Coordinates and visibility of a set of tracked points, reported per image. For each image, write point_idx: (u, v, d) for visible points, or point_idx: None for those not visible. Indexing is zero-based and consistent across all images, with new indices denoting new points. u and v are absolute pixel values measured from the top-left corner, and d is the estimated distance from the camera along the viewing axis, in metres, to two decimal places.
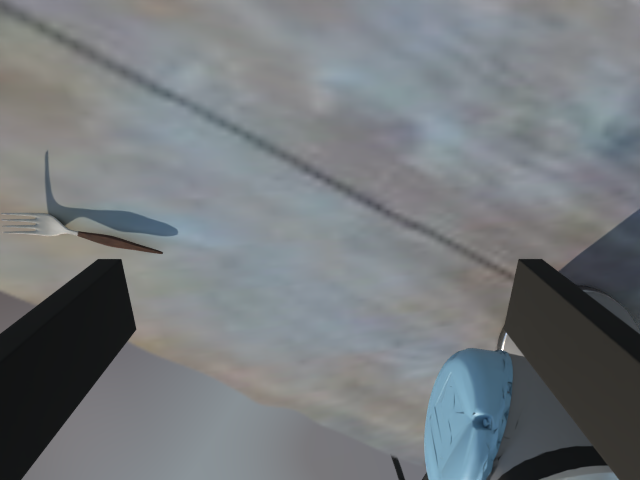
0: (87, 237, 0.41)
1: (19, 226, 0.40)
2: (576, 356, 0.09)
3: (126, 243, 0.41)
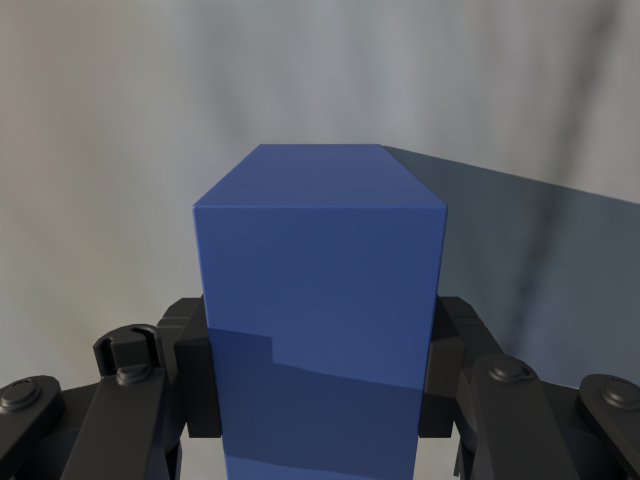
0: None
1: None
2: None
3: None
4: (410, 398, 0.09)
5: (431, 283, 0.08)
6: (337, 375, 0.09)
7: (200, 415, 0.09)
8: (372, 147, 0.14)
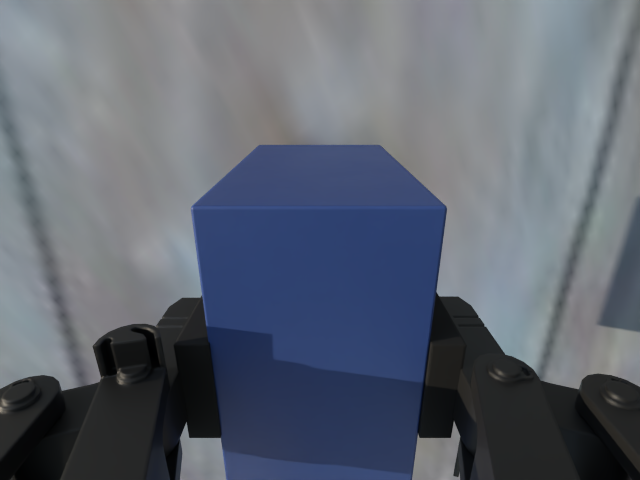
0: None
1: None
2: None
3: None
4: (409, 399, 0.09)
5: (430, 284, 0.08)
6: (336, 376, 0.09)
7: (200, 415, 0.09)
8: (371, 148, 0.14)
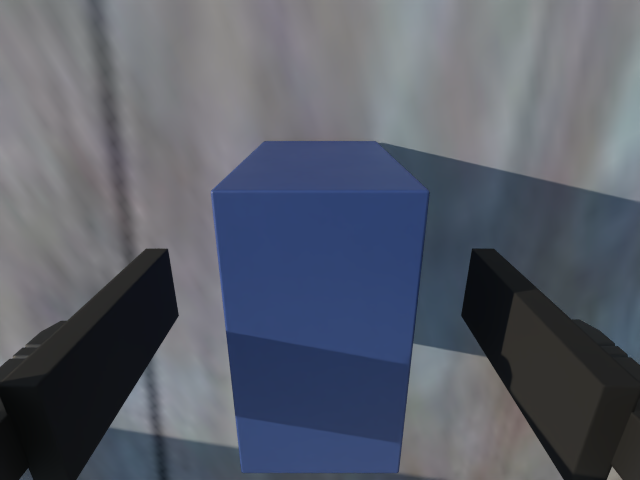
0: None
1: None
2: (512, 335, 0.10)
3: None
4: (399, 362, 0.10)
5: (416, 259, 0.09)
6: (335, 341, 0.10)
7: (43, 462, 0.08)
8: (368, 143, 0.15)
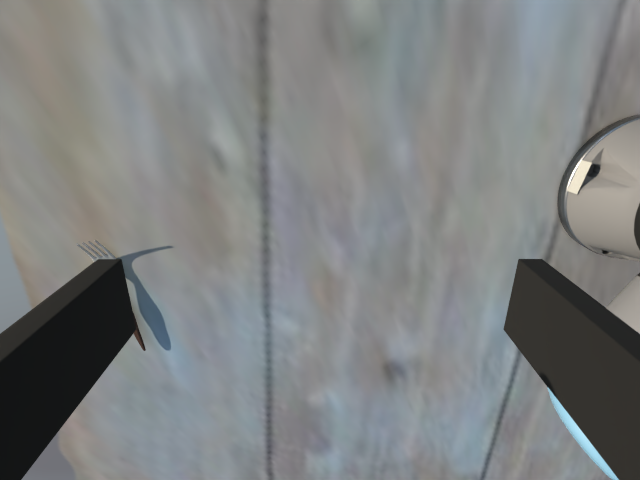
0: None
1: (91, 250, 0.42)
2: (576, 356, 0.09)
3: None
4: None
5: None
6: None
7: None
8: None
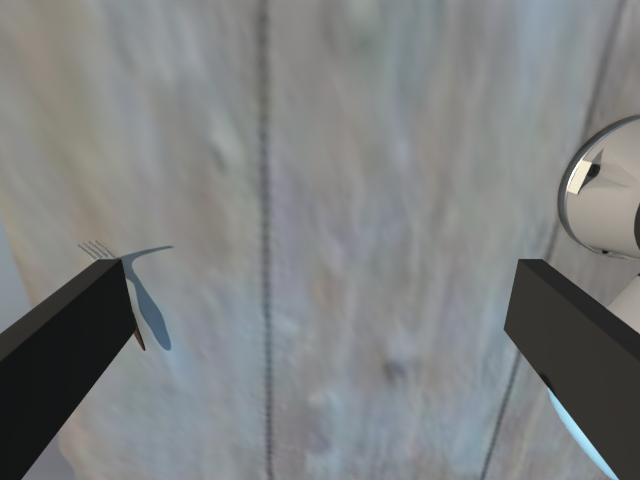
0: None
1: (91, 250, 0.42)
2: (576, 356, 0.09)
3: None
4: None
5: None
6: None
7: None
8: None
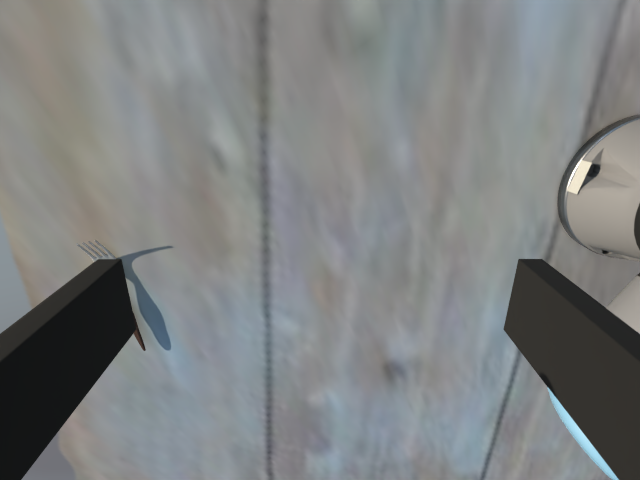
0: None
1: (91, 250, 0.42)
2: (576, 356, 0.09)
3: None
4: None
5: None
6: None
7: None
8: None
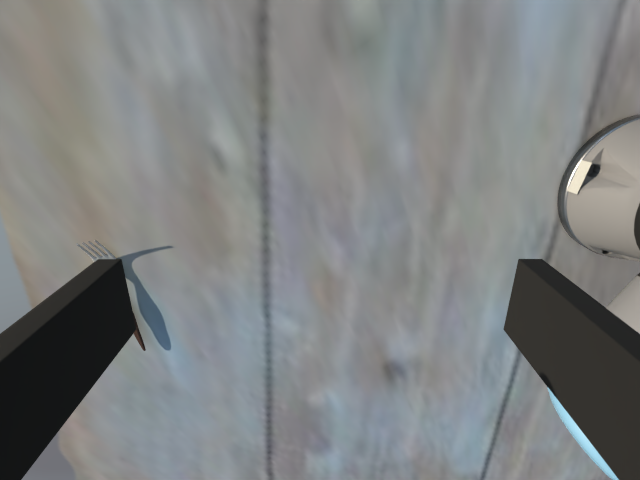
0: None
1: (91, 250, 0.42)
2: (576, 356, 0.09)
3: None
4: None
5: None
6: None
7: None
8: None
